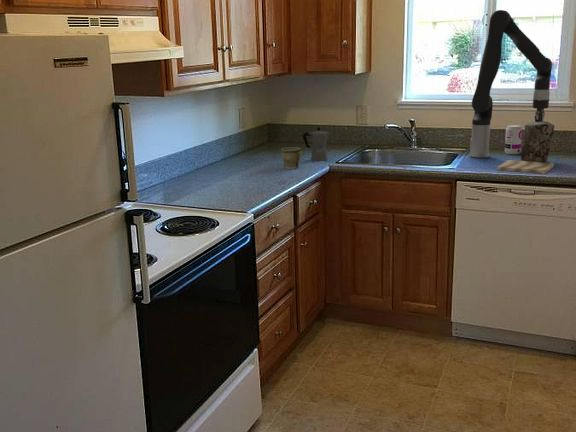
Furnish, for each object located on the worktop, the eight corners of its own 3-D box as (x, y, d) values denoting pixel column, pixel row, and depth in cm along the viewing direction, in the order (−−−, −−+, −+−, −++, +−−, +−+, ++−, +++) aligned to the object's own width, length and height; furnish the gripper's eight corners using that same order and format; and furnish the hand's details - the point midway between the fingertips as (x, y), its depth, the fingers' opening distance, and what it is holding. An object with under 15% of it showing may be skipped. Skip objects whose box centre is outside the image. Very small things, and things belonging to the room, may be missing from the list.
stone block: (539, 158, 324) (546, 120, 316) (549, 162, 318) (555, 123, 310) (518, 160, 320) (524, 122, 312) (527, 164, 314) (533, 125, 306)
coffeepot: (329, 158, 348) (328, 125, 343) (333, 161, 339) (332, 127, 334) (301, 159, 345) (301, 126, 341) (305, 162, 336) (304, 129, 332)
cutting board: (497, 169, 303) (497, 166, 303) (507, 162, 319) (508, 159, 319) (545, 173, 292) (545, 170, 291) (553, 166, 308) (554, 163, 307)
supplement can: (521, 152, 346) (523, 125, 342) (518, 155, 339) (520, 127, 335) (506, 151, 350) (508, 124, 346) (503, 154, 343) (504, 126, 339)
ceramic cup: (277, 168, 322) (277, 149, 320) (288, 165, 330) (288, 146, 328) (299, 171, 315) (298, 151, 313) (309, 167, 323) (309, 148, 320)
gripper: (536, 97, 323) (533, 130, 328) (530, 99, 313) (527, 134, 317) (551, 97, 319) (548, 131, 324) (546, 99, 309) (543, 135, 313)
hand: (538, 132), depth 321 cm, fingers closed
